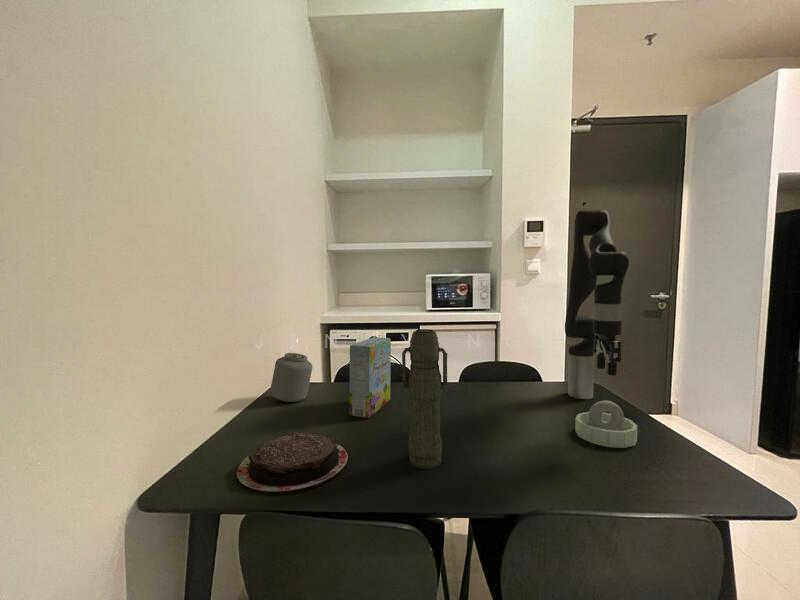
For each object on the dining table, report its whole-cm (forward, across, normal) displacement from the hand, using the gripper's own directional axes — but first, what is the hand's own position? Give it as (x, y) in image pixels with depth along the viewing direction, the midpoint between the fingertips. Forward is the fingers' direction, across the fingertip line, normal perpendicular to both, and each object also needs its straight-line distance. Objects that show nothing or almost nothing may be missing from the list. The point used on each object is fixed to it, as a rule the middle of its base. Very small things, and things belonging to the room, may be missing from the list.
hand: (606, 371), depth 112 cm
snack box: (+20, +15, +77) cm, 81 cm away
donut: (+19, 0, 0) cm, 19 cm away
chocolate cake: (+20, -30, +87) cm, 94 cm away
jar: (+20, +21, +111) cm, 115 cm away
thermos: (+20, -23, +53) cm, 61 cm away
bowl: (+20, 0, 0) cm, 20 cm away
